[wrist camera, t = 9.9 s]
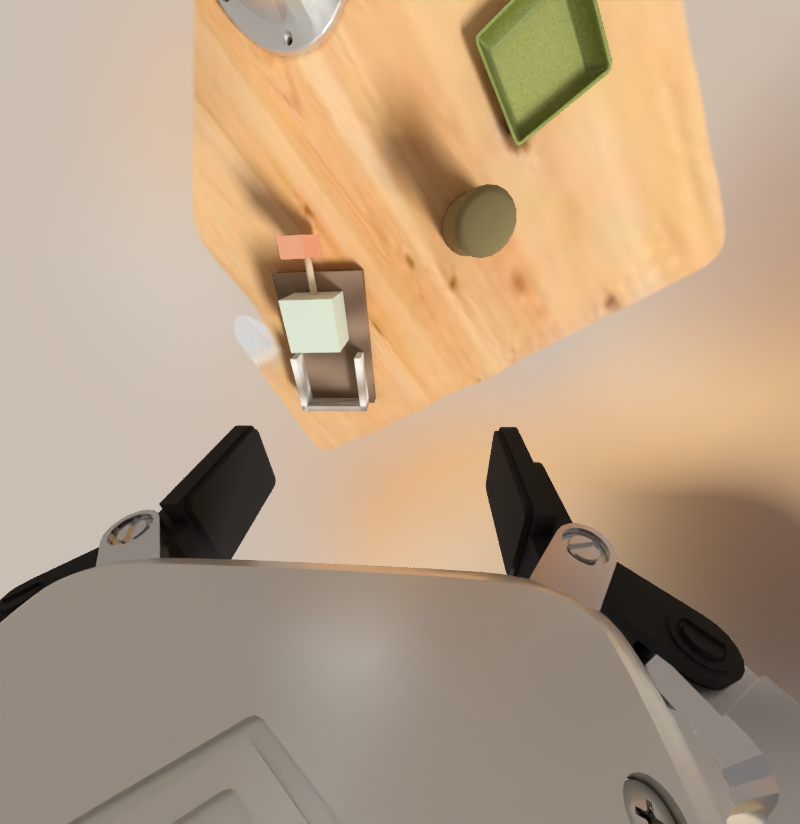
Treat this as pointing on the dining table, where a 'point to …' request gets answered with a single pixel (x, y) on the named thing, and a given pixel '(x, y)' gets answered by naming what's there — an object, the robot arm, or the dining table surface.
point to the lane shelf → (336, 371)
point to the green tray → (542, 59)
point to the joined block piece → (311, 304)
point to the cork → (480, 221)
